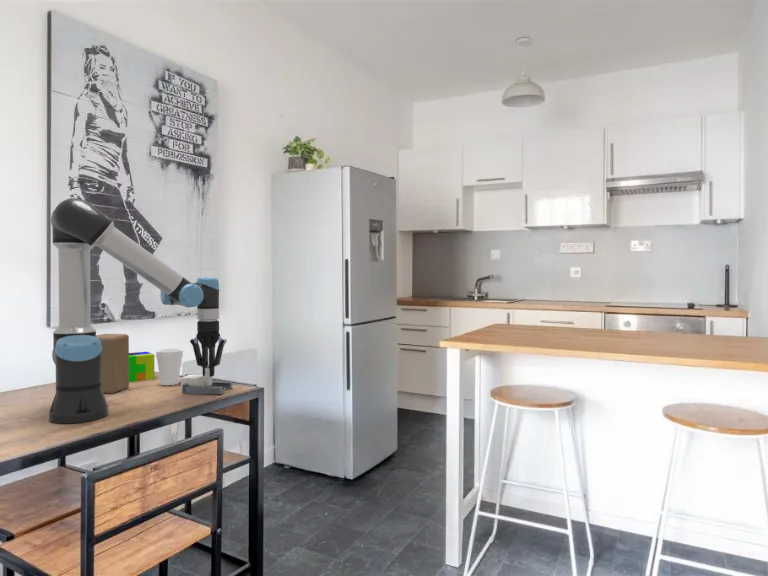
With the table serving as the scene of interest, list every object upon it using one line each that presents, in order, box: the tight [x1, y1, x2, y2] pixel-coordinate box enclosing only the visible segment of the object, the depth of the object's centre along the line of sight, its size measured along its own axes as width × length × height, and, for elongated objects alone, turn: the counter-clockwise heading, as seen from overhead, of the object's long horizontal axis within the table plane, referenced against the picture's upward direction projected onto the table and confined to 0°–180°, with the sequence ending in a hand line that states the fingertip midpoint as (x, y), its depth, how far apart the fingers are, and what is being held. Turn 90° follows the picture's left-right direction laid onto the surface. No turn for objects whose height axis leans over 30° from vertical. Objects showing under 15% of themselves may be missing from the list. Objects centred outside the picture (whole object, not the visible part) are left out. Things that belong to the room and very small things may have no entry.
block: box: [180, 374, 205, 393], centre depth 188 cm, size 6×6×5 cm
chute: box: [181, 380, 233, 395], centre depth 188 cm, size 10×14×3 cm
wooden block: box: [96, 333, 130, 394], centre depth 187 cm, size 10×10×20 cm
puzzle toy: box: [129, 351, 155, 383], centre depth 208 cm, size 10×10×10 cm
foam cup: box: [155, 348, 184, 386], centre depth 198 cm, size 10×9×13 cm
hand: (208, 385), depth 188 cm, fingers closed
